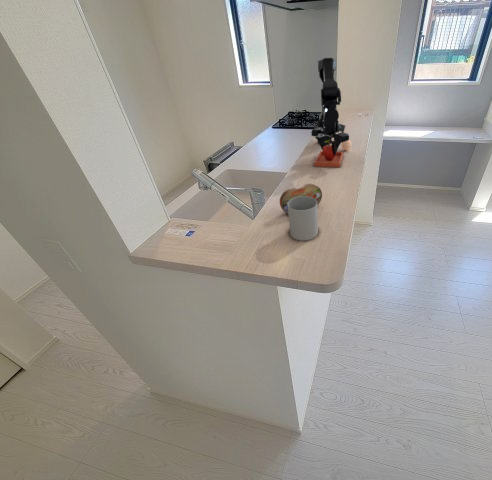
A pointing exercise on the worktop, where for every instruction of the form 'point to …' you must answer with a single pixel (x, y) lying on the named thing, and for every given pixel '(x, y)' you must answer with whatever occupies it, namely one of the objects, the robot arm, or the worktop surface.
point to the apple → (328, 151)
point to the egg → (346, 145)
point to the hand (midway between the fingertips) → (329, 153)
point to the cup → (303, 217)
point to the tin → (300, 194)
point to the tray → (323, 162)
